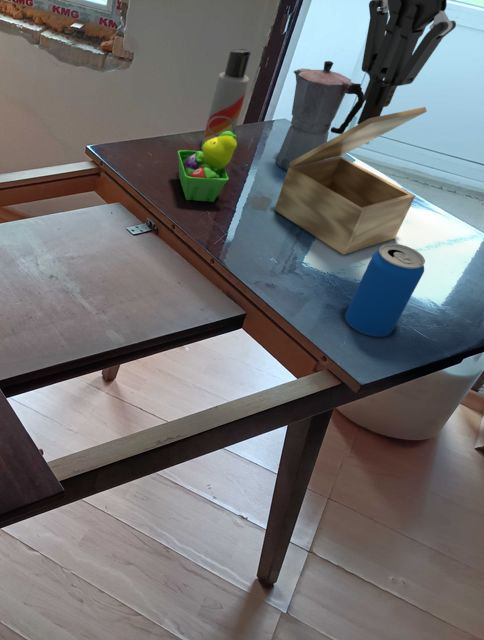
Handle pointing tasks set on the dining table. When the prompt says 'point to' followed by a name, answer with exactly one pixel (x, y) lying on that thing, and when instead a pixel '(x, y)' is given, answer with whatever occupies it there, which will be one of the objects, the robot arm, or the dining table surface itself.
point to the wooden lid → (358, 136)
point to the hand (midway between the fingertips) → (366, 124)
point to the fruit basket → (206, 167)
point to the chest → (343, 204)
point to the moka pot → (316, 111)
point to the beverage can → (385, 289)
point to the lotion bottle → (228, 95)
